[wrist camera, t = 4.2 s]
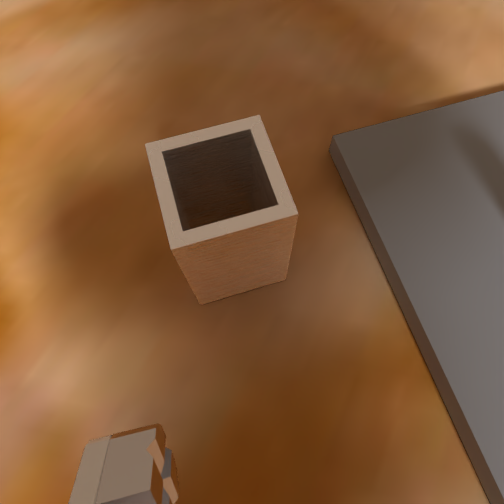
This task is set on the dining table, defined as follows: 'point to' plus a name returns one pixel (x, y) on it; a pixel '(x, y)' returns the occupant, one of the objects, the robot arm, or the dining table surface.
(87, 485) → the robot arm
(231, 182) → the steel sleeve
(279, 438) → the dining table surface
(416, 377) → the dining table surface
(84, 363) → the dining table surface
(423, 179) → the shaft plate
